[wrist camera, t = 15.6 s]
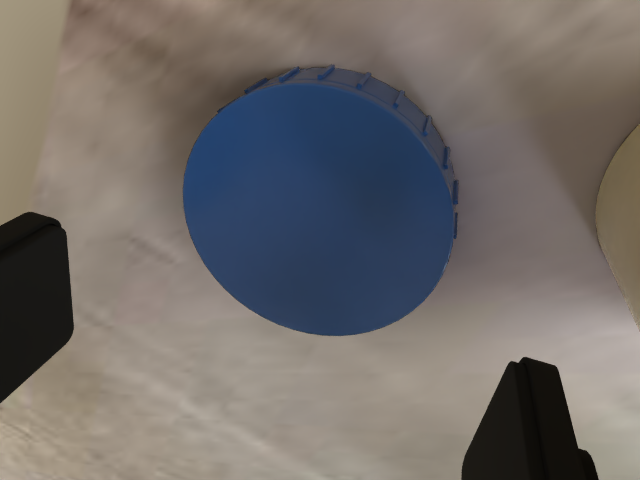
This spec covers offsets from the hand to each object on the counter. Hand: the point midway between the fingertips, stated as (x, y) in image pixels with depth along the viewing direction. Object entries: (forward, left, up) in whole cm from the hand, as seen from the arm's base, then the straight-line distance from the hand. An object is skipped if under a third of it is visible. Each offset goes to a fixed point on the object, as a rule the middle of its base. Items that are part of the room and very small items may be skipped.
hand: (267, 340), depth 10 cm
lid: (+1, +1, -4) cm, 4 cm away
